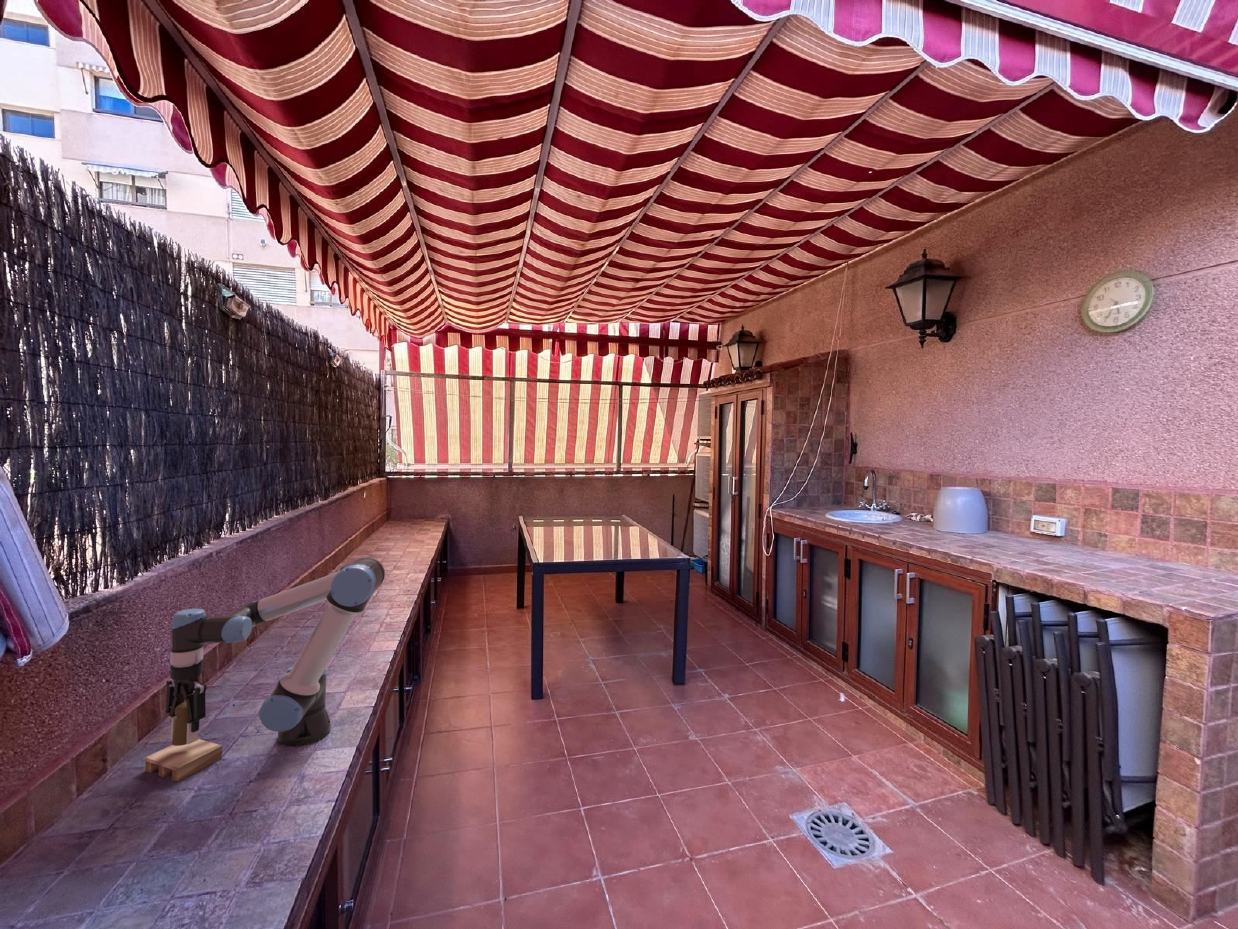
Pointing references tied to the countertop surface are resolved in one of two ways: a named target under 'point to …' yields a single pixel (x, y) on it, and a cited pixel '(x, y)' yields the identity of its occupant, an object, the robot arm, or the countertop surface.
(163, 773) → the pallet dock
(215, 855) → the countertop surface
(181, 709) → the cork
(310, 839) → the countertop surface
